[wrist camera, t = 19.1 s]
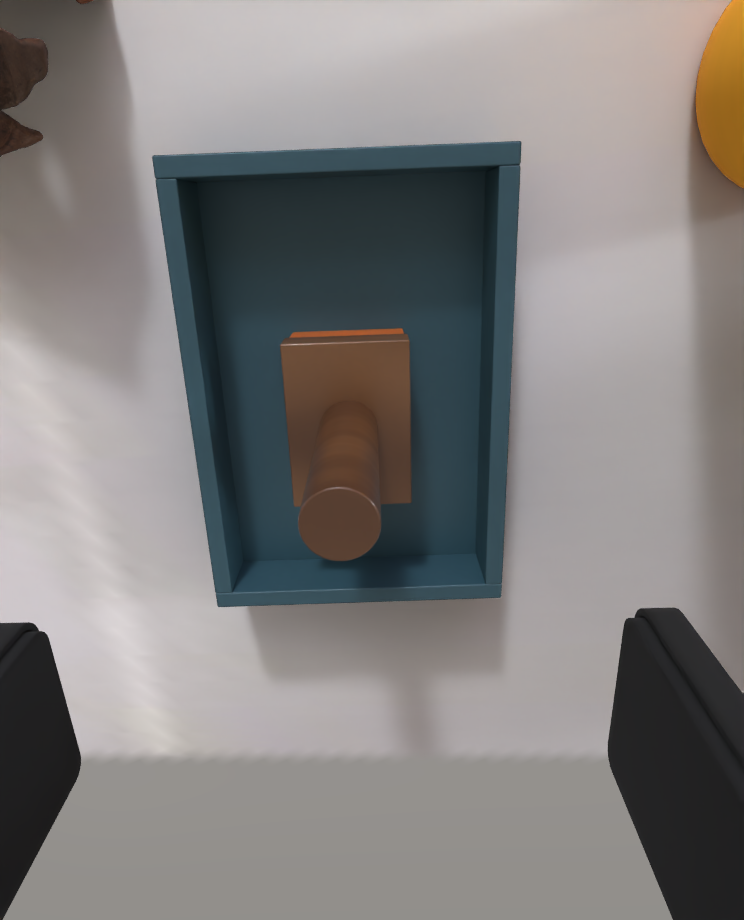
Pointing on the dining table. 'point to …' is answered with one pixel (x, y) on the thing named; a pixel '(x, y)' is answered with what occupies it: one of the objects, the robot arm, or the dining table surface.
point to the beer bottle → (724, 94)
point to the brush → (347, 434)
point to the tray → (347, 308)
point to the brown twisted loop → (19, 85)
